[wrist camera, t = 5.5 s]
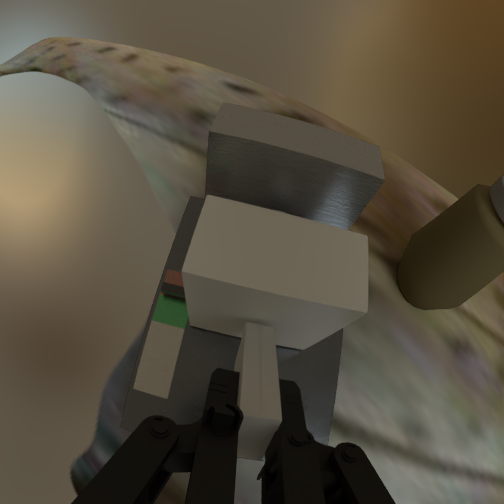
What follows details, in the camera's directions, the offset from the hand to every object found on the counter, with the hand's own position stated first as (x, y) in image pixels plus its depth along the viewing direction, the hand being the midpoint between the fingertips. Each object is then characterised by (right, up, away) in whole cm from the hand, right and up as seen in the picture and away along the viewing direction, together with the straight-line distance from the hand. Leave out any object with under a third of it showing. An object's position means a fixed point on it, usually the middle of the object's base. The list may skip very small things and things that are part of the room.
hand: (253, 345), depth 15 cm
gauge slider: (-1, +2, +6) cm, 6 cm away
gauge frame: (0, -1, +6) cm, 7 cm away
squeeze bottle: (+16, +2, +11) cm, 20 cm away
